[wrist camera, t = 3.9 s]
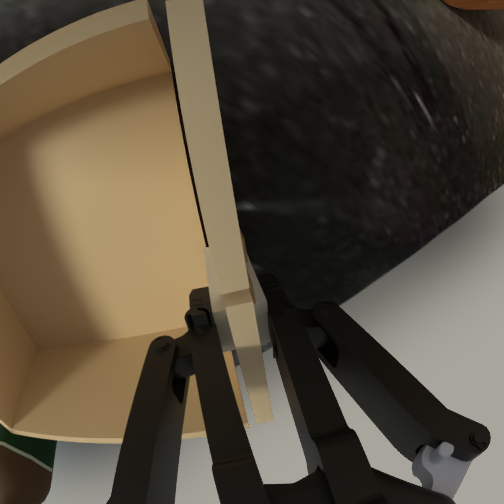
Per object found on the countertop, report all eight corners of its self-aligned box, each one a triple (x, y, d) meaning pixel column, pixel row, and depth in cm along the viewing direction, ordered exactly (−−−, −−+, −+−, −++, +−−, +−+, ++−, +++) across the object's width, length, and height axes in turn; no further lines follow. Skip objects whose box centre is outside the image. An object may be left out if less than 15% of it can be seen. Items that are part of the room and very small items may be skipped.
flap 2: (231, 322, 23) (257, 424, 14) (206, 214, 18) (225, 307, 10) (246, 318, 23) (277, 419, 14) (225, 210, 18) (260, 300, 10)
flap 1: (204, 206, 18) (220, 295, 9) (178, 62, 13) (165, 1, 5) (223, 202, 18) (256, 286, 10) (199, 58, 13) (210, -7, 5)
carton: (38, 353, 21) (12, 433, 12) (-47, 164, 11) (-126, 208, 2) (225, 323, 23) (249, 428, 14) (169, 61, 13) (146, -3, 5)
